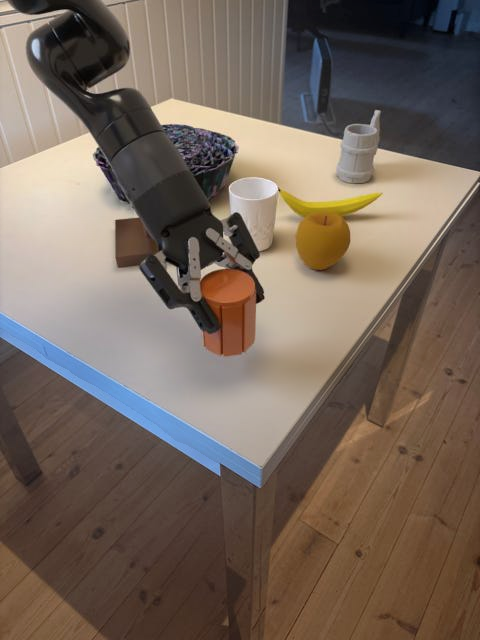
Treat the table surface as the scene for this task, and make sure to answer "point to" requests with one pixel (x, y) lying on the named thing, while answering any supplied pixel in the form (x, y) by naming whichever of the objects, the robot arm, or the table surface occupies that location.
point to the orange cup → (230, 311)
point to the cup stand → (132, 242)
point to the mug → (359, 151)
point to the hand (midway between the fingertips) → (237, 316)
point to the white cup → (255, 207)
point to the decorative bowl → (190, 157)
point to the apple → (322, 239)
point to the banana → (328, 204)
